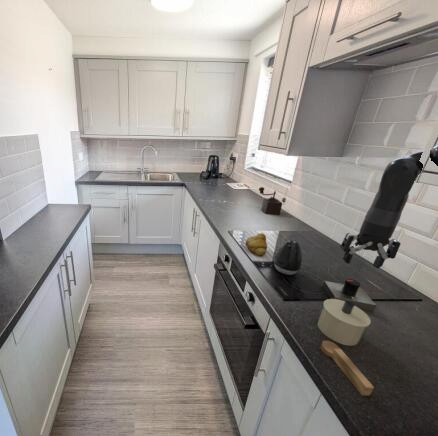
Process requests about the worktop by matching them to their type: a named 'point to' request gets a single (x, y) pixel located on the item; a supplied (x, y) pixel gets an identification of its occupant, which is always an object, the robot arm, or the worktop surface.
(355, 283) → the knob
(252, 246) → the bread roll
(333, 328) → the pot
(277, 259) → the dark grey egg shape
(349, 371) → the spoon
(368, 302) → the grey flat piece
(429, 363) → the worktop surface
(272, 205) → the manual coffee grinder
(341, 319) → the pot lid
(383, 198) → the robot arm
